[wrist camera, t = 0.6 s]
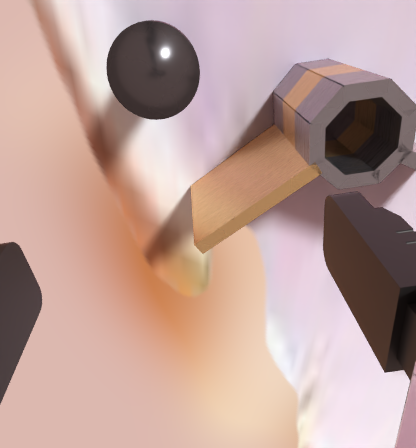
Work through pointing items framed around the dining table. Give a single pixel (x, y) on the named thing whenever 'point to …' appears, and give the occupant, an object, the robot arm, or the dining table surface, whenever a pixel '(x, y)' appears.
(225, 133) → the dining table surface
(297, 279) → the dining table surface
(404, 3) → the dining table surface
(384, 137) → the hinge
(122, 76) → the hinge pin
